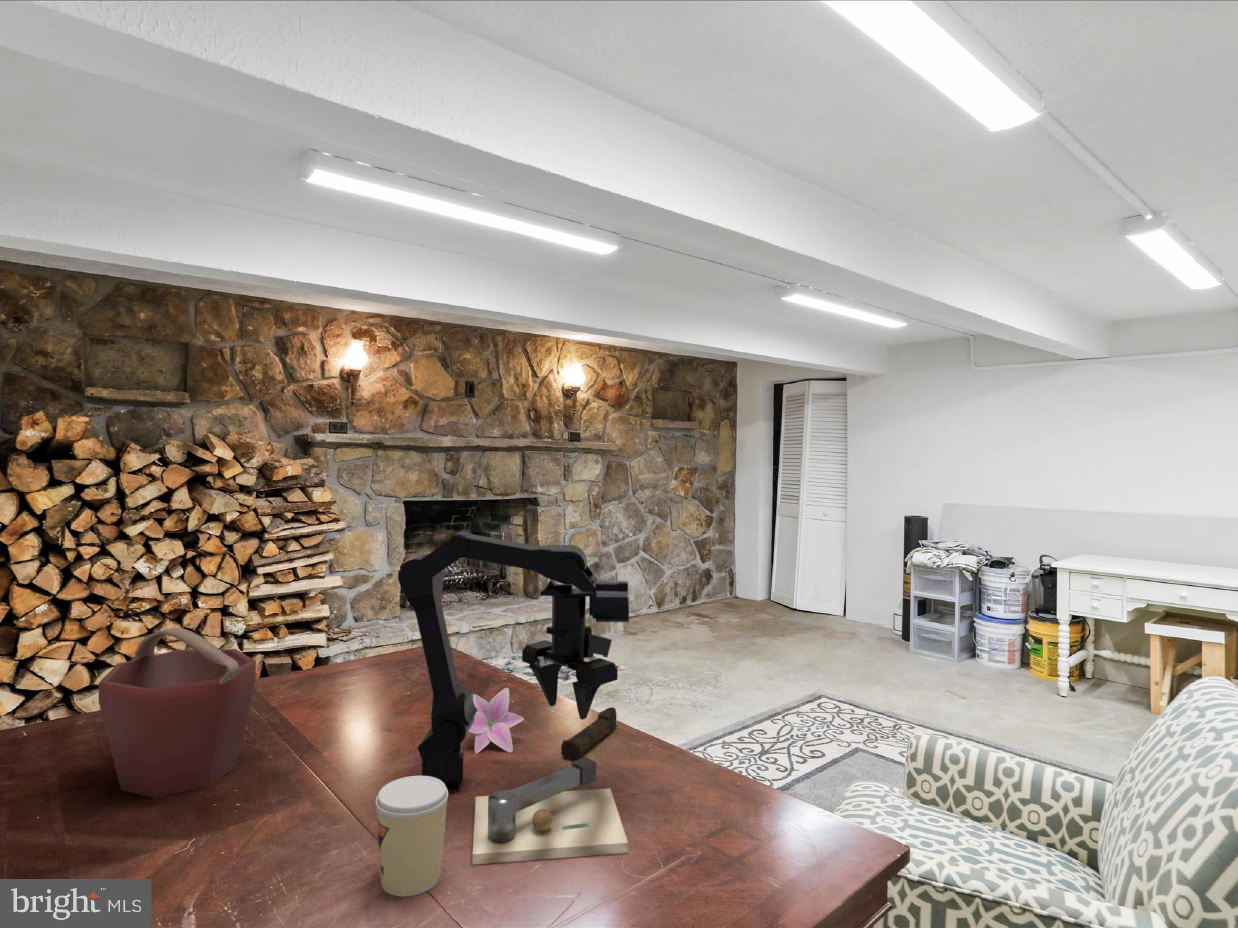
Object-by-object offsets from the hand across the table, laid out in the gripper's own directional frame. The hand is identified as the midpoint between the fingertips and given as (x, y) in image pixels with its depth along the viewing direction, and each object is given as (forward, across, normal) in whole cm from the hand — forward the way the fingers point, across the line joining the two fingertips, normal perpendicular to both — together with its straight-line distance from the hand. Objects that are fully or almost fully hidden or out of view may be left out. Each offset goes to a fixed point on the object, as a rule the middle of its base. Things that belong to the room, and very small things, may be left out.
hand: (567, 711), depth 121 cm
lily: (+13, +23, 0) cm, 26 cm away
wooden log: (+14, +11, -16) cm, 24 cm away
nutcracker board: (+13, -7, +10) cm, 18 cm away
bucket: (+13, +49, +47) cm, 69 cm away
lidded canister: (+13, -5, +32) cm, 35 cm away
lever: (+11, -7, +11) cm, 17 cm away
